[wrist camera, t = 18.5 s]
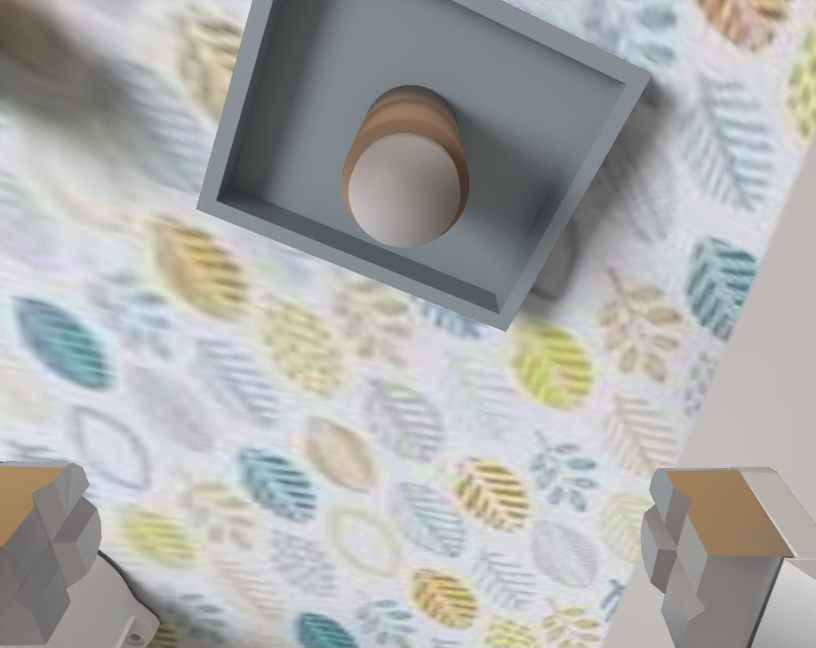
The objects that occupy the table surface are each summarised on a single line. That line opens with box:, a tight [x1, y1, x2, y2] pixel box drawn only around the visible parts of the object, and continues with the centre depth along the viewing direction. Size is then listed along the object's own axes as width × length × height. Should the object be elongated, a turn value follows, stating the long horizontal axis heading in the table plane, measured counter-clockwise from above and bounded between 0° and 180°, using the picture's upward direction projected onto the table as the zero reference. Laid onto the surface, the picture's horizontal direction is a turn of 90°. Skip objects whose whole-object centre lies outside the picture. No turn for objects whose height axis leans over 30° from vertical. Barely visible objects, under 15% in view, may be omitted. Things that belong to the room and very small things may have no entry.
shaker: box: [341, 85, 470, 248], centre depth 27 cm, size 5×5×10 cm
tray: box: [196, 0, 653, 332], centre depth 31 cm, size 14×17×4 cm
